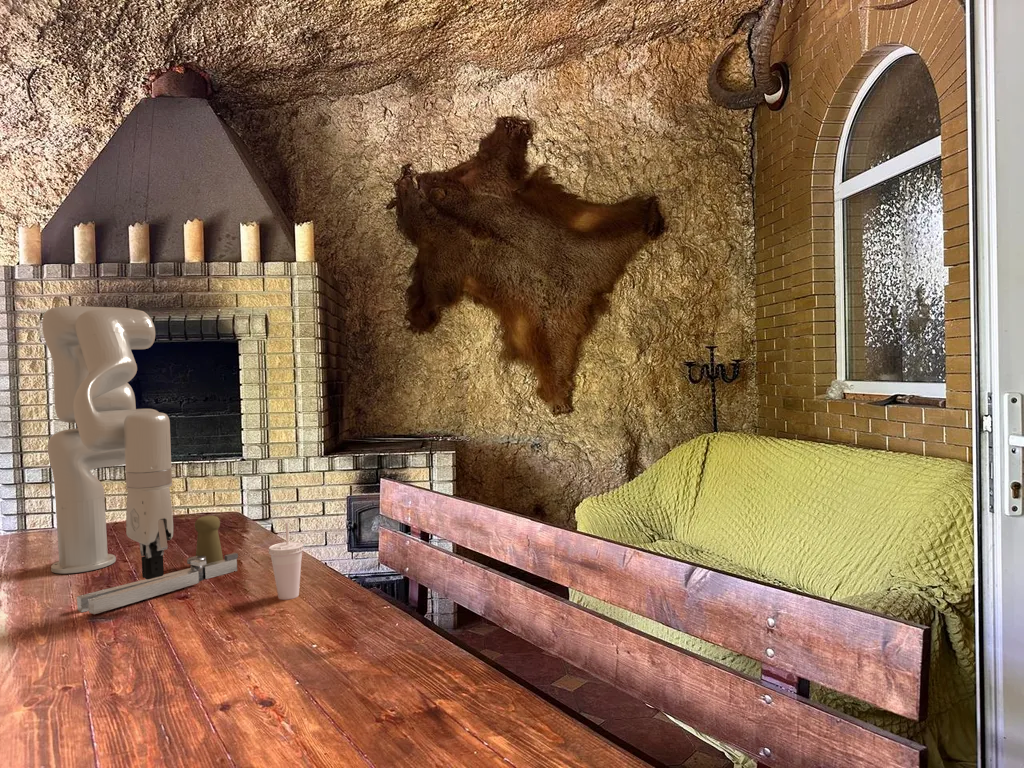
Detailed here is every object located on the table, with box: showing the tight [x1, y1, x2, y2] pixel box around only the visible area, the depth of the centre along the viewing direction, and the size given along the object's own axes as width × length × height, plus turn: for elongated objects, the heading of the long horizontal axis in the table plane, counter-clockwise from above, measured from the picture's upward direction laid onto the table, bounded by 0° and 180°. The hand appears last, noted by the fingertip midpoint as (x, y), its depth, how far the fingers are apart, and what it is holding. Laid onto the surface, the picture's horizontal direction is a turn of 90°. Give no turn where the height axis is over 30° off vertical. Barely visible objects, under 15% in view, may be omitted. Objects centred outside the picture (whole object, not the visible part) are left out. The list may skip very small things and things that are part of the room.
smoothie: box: [268, 521, 305, 601], centre depth 131 cm, size 6×6×14 cm
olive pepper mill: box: [194, 515, 224, 564], centre depth 155 cm, size 6×6×11 cm
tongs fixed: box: [76, 552, 239, 613], centre depth 139 cm, size 2×31×4 cm, turn 140°
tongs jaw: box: [88, 555, 206, 615], centre depth 135 cm, size 6×24×4 cm, turn 146°
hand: (153, 576), depth 129 cm, fingers closed
